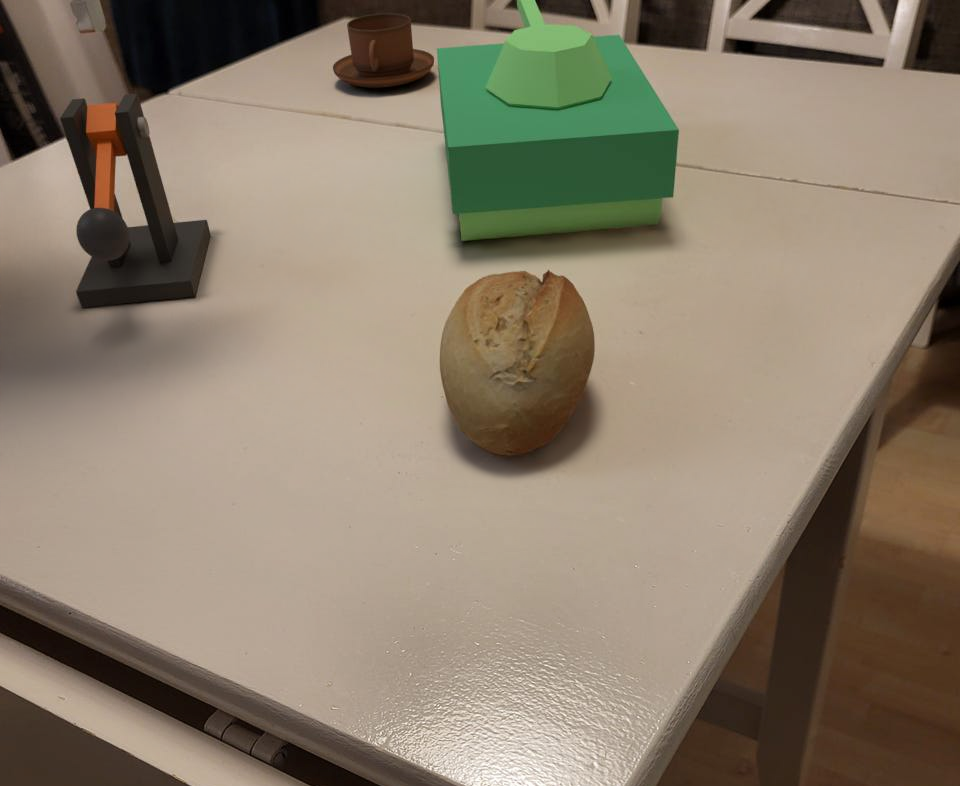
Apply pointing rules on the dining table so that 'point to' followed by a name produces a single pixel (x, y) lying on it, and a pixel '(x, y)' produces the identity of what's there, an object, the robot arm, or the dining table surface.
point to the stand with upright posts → (152, 248)
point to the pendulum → (104, 188)
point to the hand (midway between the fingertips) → (19, 38)
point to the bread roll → (516, 359)
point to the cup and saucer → (382, 53)
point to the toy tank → (553, 133)
